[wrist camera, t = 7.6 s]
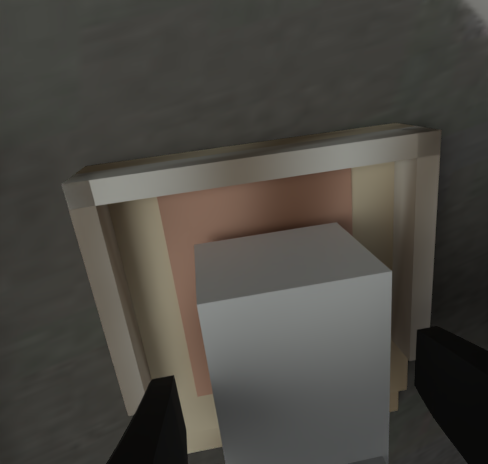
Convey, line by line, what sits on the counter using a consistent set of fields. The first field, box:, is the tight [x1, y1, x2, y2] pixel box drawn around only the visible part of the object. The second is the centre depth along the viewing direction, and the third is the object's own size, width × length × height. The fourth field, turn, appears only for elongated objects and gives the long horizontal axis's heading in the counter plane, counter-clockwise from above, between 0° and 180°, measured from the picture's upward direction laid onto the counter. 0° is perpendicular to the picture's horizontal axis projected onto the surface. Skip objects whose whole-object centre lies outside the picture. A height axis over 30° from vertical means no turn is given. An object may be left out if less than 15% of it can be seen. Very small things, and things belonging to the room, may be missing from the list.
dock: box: [61, 123, 441, 454], centre depth 16 cm, size 12×14×3 cm
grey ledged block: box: [194, 222, 392, 464], centre depth 13 cm, size 5×7×6 cm
